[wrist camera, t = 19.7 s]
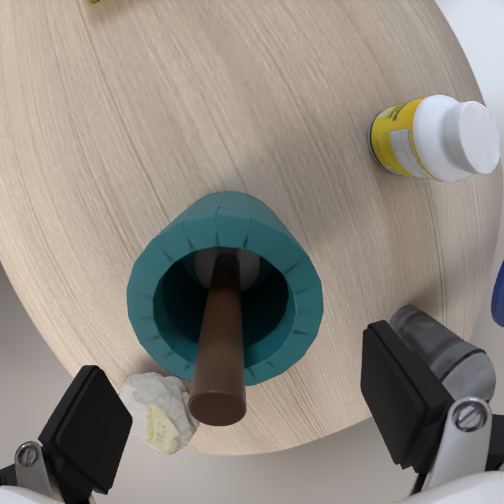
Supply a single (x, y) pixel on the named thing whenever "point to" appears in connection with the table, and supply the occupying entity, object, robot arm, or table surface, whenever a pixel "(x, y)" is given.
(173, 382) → the fossil replica
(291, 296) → the jar
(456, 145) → the pill bottle
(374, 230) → the table surface
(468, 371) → the beverage cup
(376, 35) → the table surface
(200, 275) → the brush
